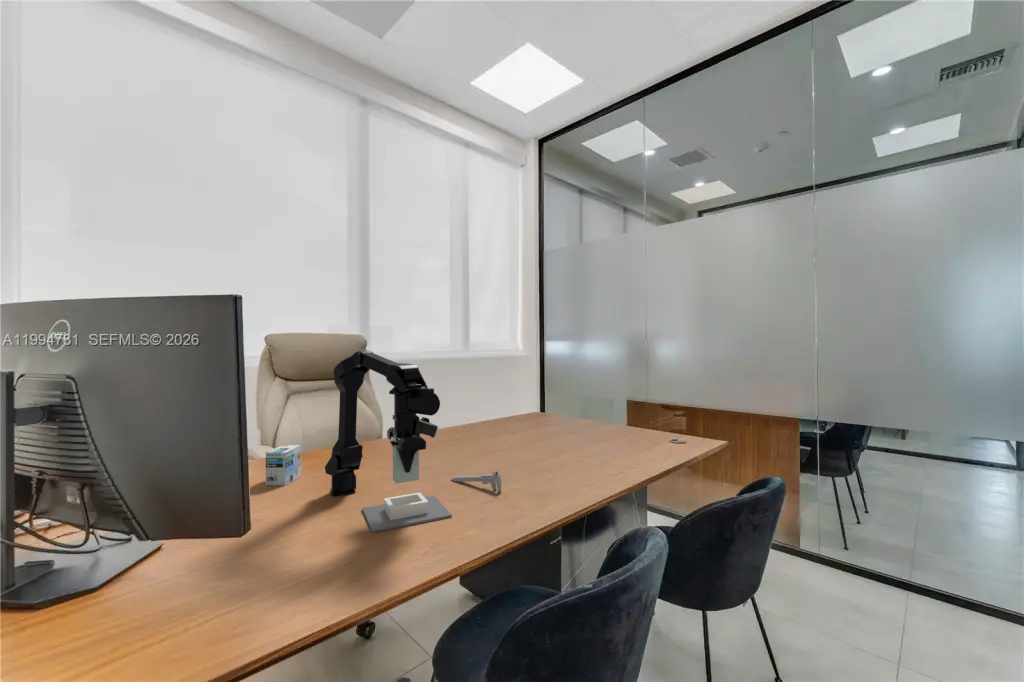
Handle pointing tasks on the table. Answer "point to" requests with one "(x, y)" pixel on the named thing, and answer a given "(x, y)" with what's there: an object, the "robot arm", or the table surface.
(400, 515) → the socket tray
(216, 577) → the table surface
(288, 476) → the light bulb box
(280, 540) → the table surface
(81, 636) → the table surface
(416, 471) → the key block
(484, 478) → the caliper
